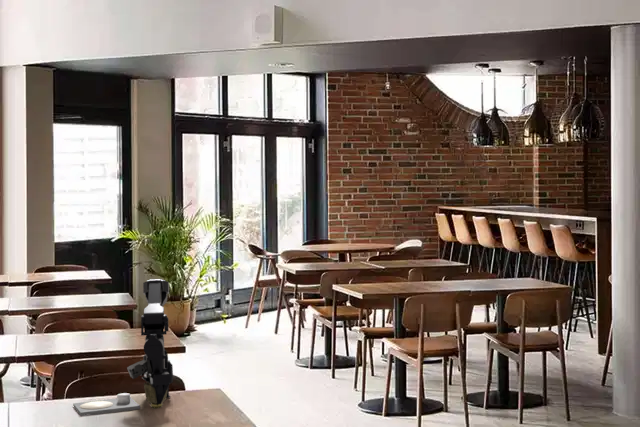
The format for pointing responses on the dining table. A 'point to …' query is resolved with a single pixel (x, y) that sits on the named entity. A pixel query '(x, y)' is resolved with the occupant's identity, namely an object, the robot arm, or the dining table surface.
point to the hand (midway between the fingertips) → (156, 401)
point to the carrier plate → (107, 405)
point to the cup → (152, 395)
